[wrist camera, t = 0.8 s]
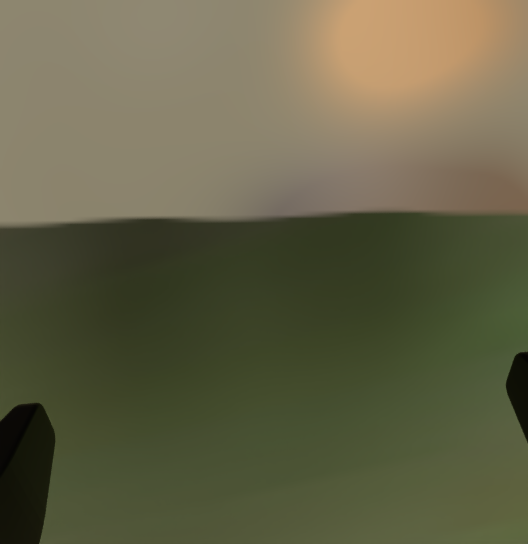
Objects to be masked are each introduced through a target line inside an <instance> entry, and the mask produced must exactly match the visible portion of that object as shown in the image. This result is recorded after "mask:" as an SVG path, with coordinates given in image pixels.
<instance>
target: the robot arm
mask: <svg viewBox="0 0 528 544" xmlns="http://www.w3.org/2000/svg"><path fill="white" fill-rule="evenodd" d="M506 390H507V394H508V396H509V399H510V401H511V404H512V406H513V409H514V411H515V413H516V416H517V418H518V421H519V423H520V425H521V428H522V430H523V433H524V435H525V438H526V440H527V442H528V352H520V353H518V354H517V355H516V356H515V357H514V360H513V363H512V366H511V369H510V372H509V375H508V378H507V381H506ZM54 447H55V433H54V429H53V427H52V425H51V423H50V420H49V418H48V416H47V414H46V411H45V409H44V407H43V406H42V405H41V404H40V403H30V404H21V405H17V406H16V407H14V408H13V409H12V410H11V411H10V412H9V413H8V414H7V415H6V416H5V417H4V418H3V419H2V420H1V421H0V544H39V542H40V538H41V533H42V529H43V524H44V518H45V512H46V505H47V498H48V491H49V483H50V476H51V469H52V462H53V455H54Z"/></svg>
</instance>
